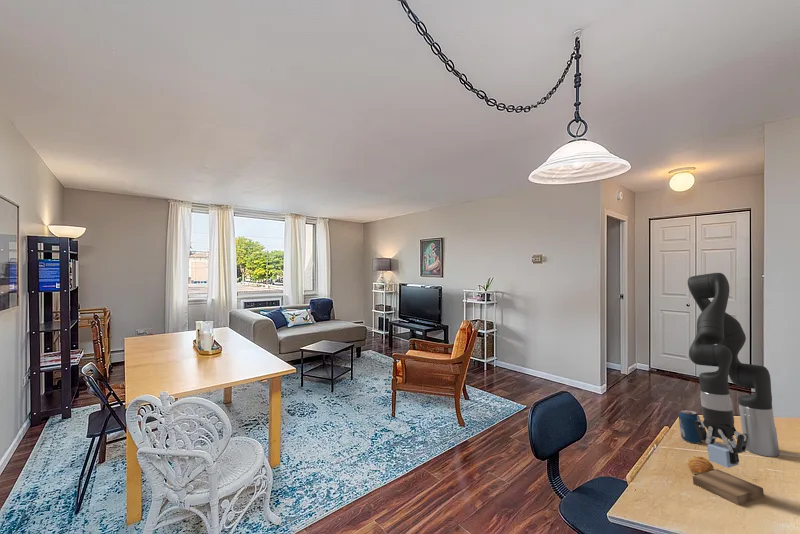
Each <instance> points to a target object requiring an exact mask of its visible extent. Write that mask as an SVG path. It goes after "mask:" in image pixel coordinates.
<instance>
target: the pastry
mask: <svg viewBox="0 0 800 534" xmlns="http://www.w3.org/2000/svg"><path fill="white" fill-rule="evenodd" d="M688 468H689V469H690V470H689V471H690V472H691V473H692V474H694V475H699V474H702V473H706V472H709V471H713V470H714V465H713V464H712V463H711V461H709V459H708V458H705V457H703V456H701V455H700V456H693V457H691V458H690V459H689V460H688Z"/></svg>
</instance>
